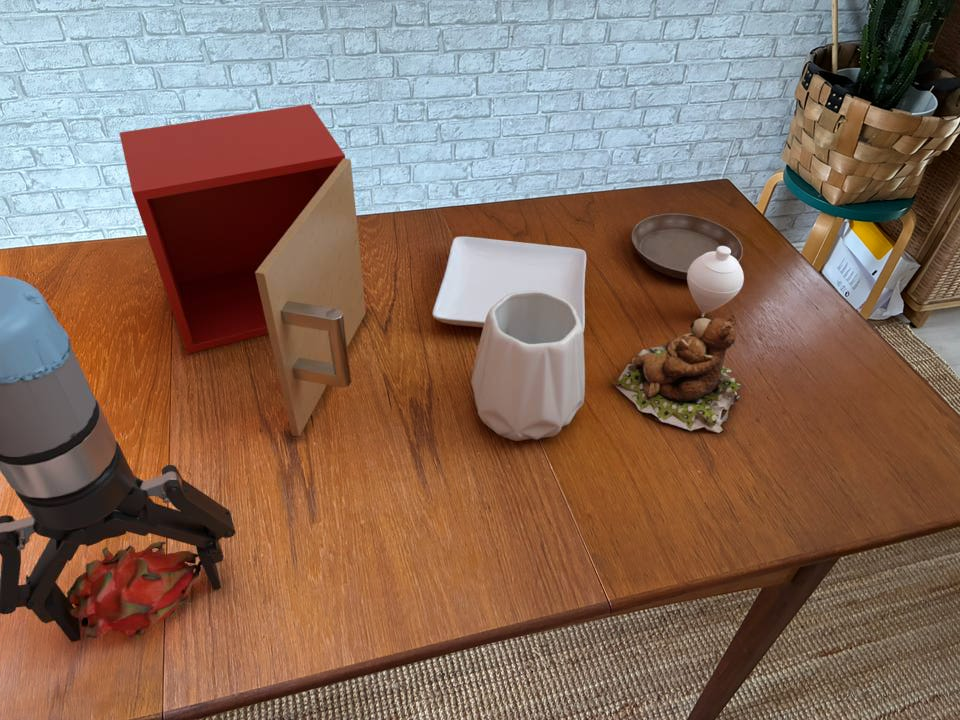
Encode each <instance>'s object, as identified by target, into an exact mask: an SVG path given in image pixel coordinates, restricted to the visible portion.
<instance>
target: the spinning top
mask: <svg viewBox="0 0 960 720" xmlns="http://www.w3.org/2000/svg"><path fill="white" fill-rule="evenodd" d="M730 253H731V250H730V248H728V247H726V246H719V247H718V248H717V250H716V251H712V252H707V253H705V254H704V255H702V256H700V257H698V258H697V259H696V260H694V261H693V263H692V264H691V265H690V267H689V269H688V274H687V280H686V282H687V287H688V289H689V292H690V293H689V294H690V296H691V297H692V299H693V301H694V303H695V305H696V307H697V308H698V309H699V310H700V312H701V318H705V315H706V314H709V313H710V312H713V311H715V310H717V309H719V308H721V307H722V306H724V305H726V304H727V303H729V302H730V301H731V300H732V299H734V298H735V297H736V296H737V295H738V294H739V292H740V291H741V289H742V288H743V285H744V281H745V275H744V270H743V268H742V266H741V264H740V261H739V262H738V261H737V260H736V259H735V258H734V257H733V256H731V255H730Z"/></svg>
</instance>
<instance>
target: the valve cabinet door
mask: <svg viewBox="0 0 960 720" xmlns="http://www.w3.org/2000/svg"><path fill="white" fill-rule="evenodd" d="M357 218H358V217H357V209H356V199H355V188H354V179H353V168H352V159H351V158H345V159H342V161H341V162H340V163H339V165H338V166H337V167H336V168H335V170H334V171H333V172H332V174H331V175H330V176H329V178H328V179H327V180H326V181H325V183H324V184H323V185H322V187H321V188H320V189H319V190H318V192H317V193H316V194H315V196H314V197H313V198H312V199H311V201H310V202H309V203H308V205H307V206H306V207H305V208H304V210H303V211H302V212H301V214H300V215H299V216H298V218H297V219H296V220H295V221H294V223H293V224H292V225H291V227H290V228H289V229H288V230H287V232H286V233H285V234H284V236H283V237H282V238H281V239H280V241H279V242H278V243H277V245H276V246H275V247H274V248H273V250H272V251H271V252H270V254H269V255H268V256H267V257H266V259H265V260H264V261H263V263H262V264H261V265H260V267H259V268H258V269H257V270H256V272H255V275H256V279H257V283H258V288H259V292H260V297H261V301H262V306H263V310H264V314H265V319H266V323H267V328H268V332H269V334H268V336H269V342H270V346H271V351H272V355H273V358H274V362H275V366H276V372H277V376H278V380H279V384H280V389H281V394H282V397H283V403H284V407H285V411H286V417H287V420H288V425H289V429H290V434H291V436H292V437H293V436H294V437H297V438H299V437H301V435H302V433H303V431H304V429H305V427H306V426H307V423H308V421H309V419H310V418H311V416H312V414H313V412H314V410H315V408H316V406H317V405H318V403H319V401H320V399H321V398H322V395H323V393H324V391H325V390H326V388H327V386H332V387H337V388H347V387H349V386H350V385H351V383H352V375H351V366H350V358H349V351H348V347H349V345H350V343H351V341H352V340H353V338H354V336H355V334H356V332H357V331H358V329H359V327H360V325H361V323H362V321H363V319H364V318H365V315H366V313H367V309H366V299H365V289H364V280H363V270H362V268H363V267H362V262H361V261H362V259H361V258H362V257H361V249H360V239H359V230H358V229H359V228H358V219H357Z"/></svg>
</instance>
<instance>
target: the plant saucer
mask: <svg viewBox="0 0 960 720" xmlns="http://www.w3.org/2000/svg"><path fill="white" fill-rule="evenodd" d="M631 241H632V245H633V247H634V248H635V251H636V253H637V254H638V255H639V256H640V258H641V259H642V260H643V261H644V262H645V264H647V265H648V266H649V267H650V268H651V269H653V270H655V271H656V272H659V273H661V274H663V275H666V276H668V277H670V278H675V279H679V280H685V281H687V274H688V269H689V267H690V265H691V264H692V263H693V261H694V260H696V259H697V258H698V257H700V256H702V255H704V254H705V253H707V252H712V251H716V250H717V248H718V247H719V246H726V247H728V248H730V250H731V253H730V255H731V256H733V257H734V258H735V259H736V260H737V261H738V262H739V263H740V261H741V259H742V257H743V254H744V248H743V245H742V242H741V241H740V239H739V238H738V236H736V235H735V234H734V233H733V232H732V231H731V230H729V229H728V228H726V227H725V226H724V225H721V224H719V223H717V222H715V221H713V220H711V219H707V218H704V217H701V216H696V215H691V214H687V213H686V214H685V213H662V214H656V215H652V216H649V217H647V218H644V219H642V220H641V221H639V222H638V223H637V224H635V226H634V227H633V229H632V231H631Z"/></svg>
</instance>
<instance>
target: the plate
mask: <svg viewBox="0 0 960 720" xmlns="http://www.w3.org/2000/svg"><path fill="white" fill-rule="evenodd" d="M586 267H587V253H586V251H585V250H584V249H581V248H576V247H575V248H574V247H567V246H559V245H558V246H557V245H549V244H539V243H532V242H521V241H511V240H504V239H503V240H502V239H494V238H485V237H484V238H483V237H474V236H456V237H455V238H453V240H452V243H451V246H450V249H449V254H448V259H447V264H446V268H445V271H444V274H443V277H442V281H441V284H440V286H439V287H440V288H439V290H438V293H437V296H436V299H435V303H434V305H433V309H432V314H431V315H432V317H433V318H434V319H435V320H437V321H438V322H441V323H444V324H448V325H454V326H466V327H473V328H474V327H475V328H483V327H484V323H485V319H486V316H487V314H488V312H489V310H490V309H491V308H492V307H493V306H494V305H495V304H496V303H497V302H499V301H500V300H501V299H502V298H503V297H505V296H506V295H508V294H511V293H515V292H520V291H524V292H526V291H543V292H547V293H551V294H554V295H555V296H556V297H561V298H563V299H565V300H566V301H567V302H569V303H570V304H571V305H572V306H573V307H574V308H575V310H576V312H577V316H578V317H579V319H580V321H581V324H582V327H583V333H584V332H585V327H586V326H585V323H586V310H585V305H586V304H585V302H586V301H585V285H586Z"/></svg>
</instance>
